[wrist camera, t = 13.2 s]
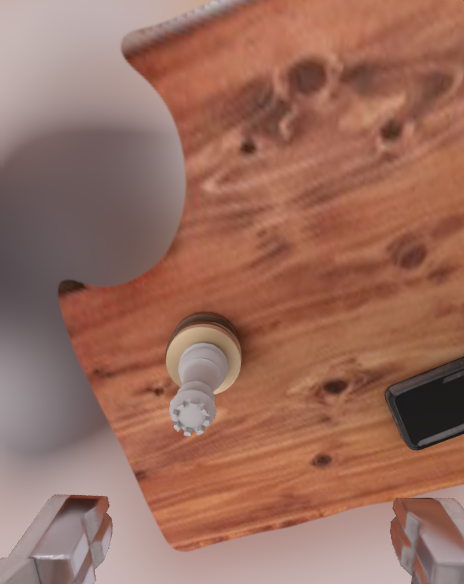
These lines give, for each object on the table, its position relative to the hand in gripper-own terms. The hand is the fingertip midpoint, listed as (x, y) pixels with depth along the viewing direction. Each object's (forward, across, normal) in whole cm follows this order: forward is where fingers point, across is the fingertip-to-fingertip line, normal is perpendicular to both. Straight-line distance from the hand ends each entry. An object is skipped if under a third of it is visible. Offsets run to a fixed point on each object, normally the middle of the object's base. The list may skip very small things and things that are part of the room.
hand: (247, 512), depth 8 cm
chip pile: (+21, +4, +5) cm, 22 cm away
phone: (+22, -23, +10) cm, 33 cm away
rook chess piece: (+18, +4, +5) cm, 19 cm away
